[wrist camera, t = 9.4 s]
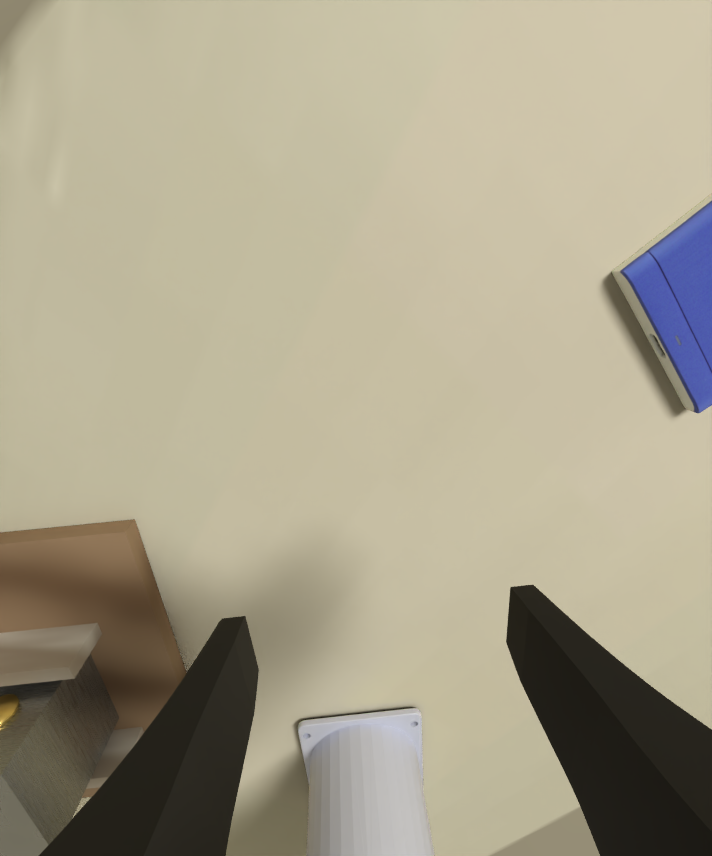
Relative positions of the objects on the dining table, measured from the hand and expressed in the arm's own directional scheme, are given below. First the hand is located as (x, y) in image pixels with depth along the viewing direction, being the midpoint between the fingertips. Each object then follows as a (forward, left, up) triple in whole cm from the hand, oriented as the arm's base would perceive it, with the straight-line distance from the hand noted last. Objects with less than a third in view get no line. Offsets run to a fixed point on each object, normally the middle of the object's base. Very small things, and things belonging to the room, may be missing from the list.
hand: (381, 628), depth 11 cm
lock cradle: (-12, +17, -10) cm, 23 cm away
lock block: (-11, +17, -8) cm, 22 cm away
